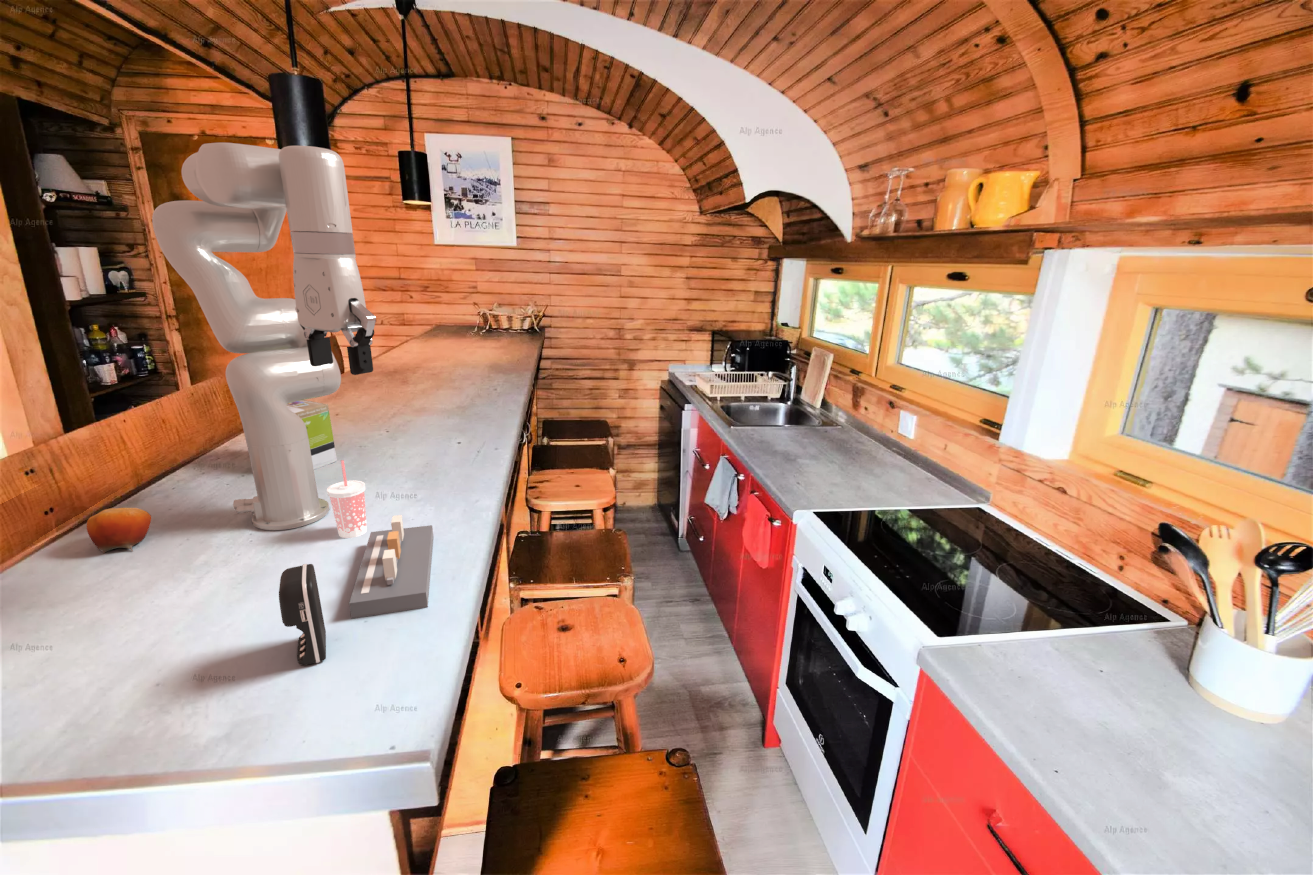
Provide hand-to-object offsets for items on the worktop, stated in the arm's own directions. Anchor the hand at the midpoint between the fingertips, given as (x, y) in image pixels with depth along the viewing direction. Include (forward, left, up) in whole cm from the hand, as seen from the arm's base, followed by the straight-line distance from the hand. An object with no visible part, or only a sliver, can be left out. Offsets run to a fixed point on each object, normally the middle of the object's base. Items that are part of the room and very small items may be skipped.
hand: (341, 369), depth 85 cm
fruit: (-40, +18, -33) cm, 55 cm away
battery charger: (-4, -21, -33) cm, 39 cm away
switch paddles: (+5, -4, -29) cm, 30 cm away
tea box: (-22, +54, -33) cm, 67 cm away
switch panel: (+5, -4, -33) cm, 33 cm away
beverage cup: (-4, +13, -33) cm, 36 cm away
